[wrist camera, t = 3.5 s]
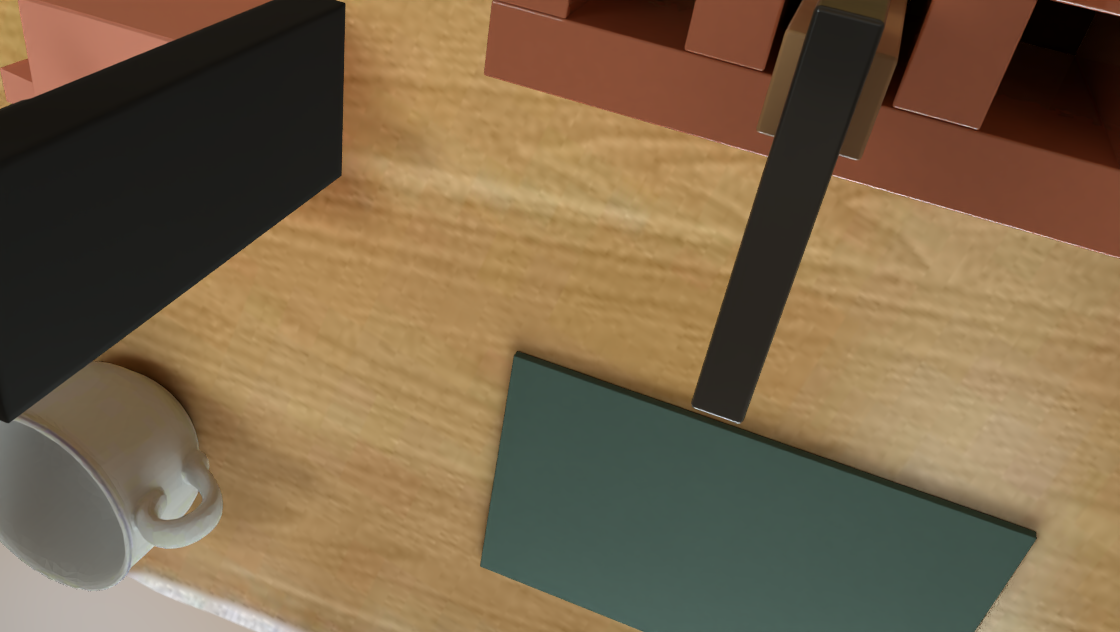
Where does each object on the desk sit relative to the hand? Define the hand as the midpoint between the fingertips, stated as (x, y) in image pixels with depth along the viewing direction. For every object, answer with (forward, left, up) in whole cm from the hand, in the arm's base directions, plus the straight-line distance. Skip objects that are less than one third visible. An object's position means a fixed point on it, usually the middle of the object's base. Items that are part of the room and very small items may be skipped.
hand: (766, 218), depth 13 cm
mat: (-2, +26, -19) cm, 32 cm away
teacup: (+28, +32, -20) cm, 47 cm away
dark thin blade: (0, 0, -19) cm, 19 cm away
